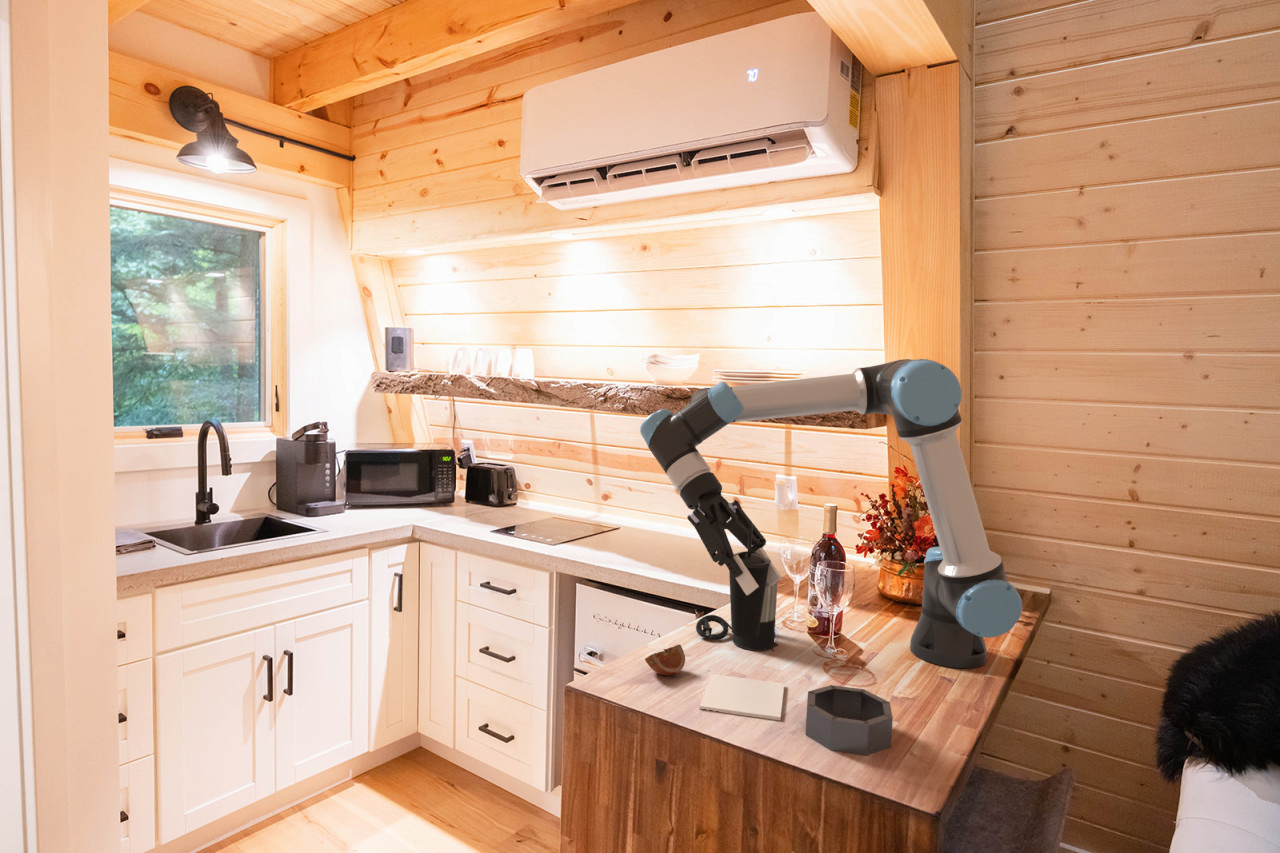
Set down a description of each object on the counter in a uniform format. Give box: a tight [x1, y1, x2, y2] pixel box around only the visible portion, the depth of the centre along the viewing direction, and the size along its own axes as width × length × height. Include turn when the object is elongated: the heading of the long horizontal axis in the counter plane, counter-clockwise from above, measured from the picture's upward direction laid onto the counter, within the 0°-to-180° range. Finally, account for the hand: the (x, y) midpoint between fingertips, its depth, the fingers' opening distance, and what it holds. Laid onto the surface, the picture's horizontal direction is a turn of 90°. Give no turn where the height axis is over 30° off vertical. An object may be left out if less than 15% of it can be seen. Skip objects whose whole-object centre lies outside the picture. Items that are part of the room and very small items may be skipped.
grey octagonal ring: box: [805, 684, 894, 756], centre depth 129 cm, size 13×13×5 cm
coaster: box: [699, 673, 785, 721], centre depth 141 cm, size 14×14×1 cm
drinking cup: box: [728, 523, 772, 638], centre depth 139 cm, size 8×8×20 cm
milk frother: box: [695, 580, 780, 652], centre depth 168 cm, size 14×16×15 cm
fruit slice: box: [644, 644, 686, 676], centre depth 150 cm, size 8×7×5 cm
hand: (764, 586), depth 136 cm, fingers closed on drinking cup, 7 cm apart
